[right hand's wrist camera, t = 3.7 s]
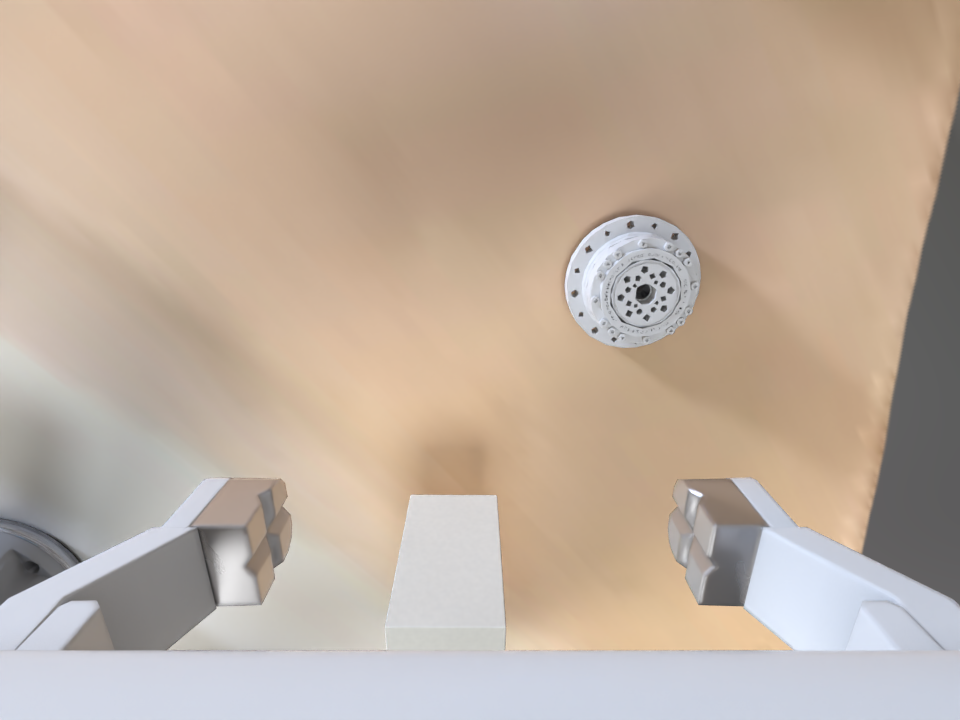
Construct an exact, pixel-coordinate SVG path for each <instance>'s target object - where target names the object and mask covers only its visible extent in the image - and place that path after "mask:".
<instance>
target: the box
mask: <svg viewBox="0 0 960 720" xmlns="http://www.w3.org/2000/svg"><path fill="white" fill-rule="evenodd" d="M385 636H386V650H464V651H505V644H506V617H505V603H504V588H503V573H502V559H501V544H500V529H499V515H498V500H497V495H411V496H410V501H409V506H408V511H407V516H406V521H405V527H404V532H403V537H402V542H401V547H400V552H399V557H398V562H397V567H396V572H395V578H394V583H393V588H392V593H391V598H390V603H389V608H388V613H387V618H386V624H385Z"/></svg>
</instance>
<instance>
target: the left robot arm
mask: <svg viewBox="0 0 960 720" xmlns="http://www.w3.org/2000/svg"><path fill="white" fill-rule="evenodd" d="M79 563H80V562H79V561H78V560H77V559H76V557H75V556H74V555H73V554H72V553H71V552H70V551H69V550H68V549H67V548H65V547H64V546H63V545H62V544H60V543H59V542H58V541H56V540H55V539H53V538H52V537H50V536H48V535H47V534H45V533H43V532H41V531H39V530H37V529H35V528H33V527H30V526H28V525H25V524H22V523H19V522H15V521H11V520H6V519H0V606H1V605H2V604H3V603H4V602H5V601H6V600H7V599H8V598H10V597H12V596H14V595H16V594H18V593H20V592H22V591H24V590H27V589H29V588H31V587H33V586H35V585H37V584H39V583H41V582H43V581H45V580H47V579H49V578H51V577H53V576H55V575H57V574H59V573H61V572H63V571H65V570H67V569H69V568H71V567H73V566H75V565H77V564H79Z"/></svg>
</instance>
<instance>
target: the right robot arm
mask: <svg viewBox="0 0 960 720" xmlns="http://www.w3.org/2000/svg"><path fill="white" fill-rule="evenodd" d="M287 497H288V496H287V491H286V486H285V483H284V482H283V481H282V480H281V479H265V478H208V479H204V480H203V481H202V482H201V483H200V485H199V486H198V487H197V488H196V489H195V490H194V491H193V492H192V493H191V495H190V496H189V497H188V498H187V499H186V500H185V501H184V502H183V503H182V505H181V506H180V507H179V508H178V509H177V510H176V511H175V512H174V513H173V515H172V516H171V517H170V518H169V519H168V520H167V521H166V522H165V523H164V525H163V526H162V527H153V528H151V529H149V530H147V531H145V532H142V533H140V534H138V535H136V536H134V537H132V538H130V539H128V540H126V541H124V542H122V543H120V544H118V545H116V546H114V547H112V548H110V549H108V550H106V551H104V552H102V553H100V554H98V555H96V556H94V557H92V558H90V559H88V560H86V561H83V562H81V563H79V564H77V565H75V566H73V567H71V568H69V569H67V570H65V571H63V572H61V573H59V574H57V575H55V576H53V577H51V578H49V579H47V580H45V581H43V582H41V583H39V584H37V585H35V586H33V587H31V588H29V589H27V590H24V591H22V592H20V593H18V594H16V595H14V596H12V597H10V598H8V599H7V600H6V601H5V602H4V603H3V604H2V605H1V606H0V720H960V605H959V604H958V603H956V602H955V601H954V600H953V599H951V598H949V597H947V596H945V595H943V594H941V593H939V592H937V591H935V590H933V589H931V588H929V587H927V586H925V585H923V584H921V583H919V582H917V581H915V580H913V579H911V578H909V577H907V576H905V575H903V574H901V573H899V572H897V571H895V570H893V569H891V568H889V567H886V566H884V565H882V564H880V563H878V562H876V561H874V560H872V559H870V558H868V557H866V556H864V555H862V554H860V553H858V552H856V551H854V550H852V549H850V548H848V547H846V546H844V545H842V544H840V543H838V542H836V541H834V540H832V539H830V538H828V537H826V536H824V535H822V534H820V533H817V532H815V531H813V530H811V529H809V528H807V527H798V526H797V525H796V523H795V522H794V521H793V520H792V519H791V518H790V517H789V516H788V515H787V513H786V512H785V511H784V510H783V509H782V508H781V507H780V506H779V505H778V503H777V502H776V501H775V500H774V499H773V498H772V497H771V496H770V495H769V493H768V492H767V491H766V490H765V489H764V488H763V487H762V486H761V484H760V483H759V482H758V481H757V480H755V479H753V478H751V477H748V478H726V479H680V480H677V481H676V484H675V486H674V490H673V496H672V497H673V498H674V500H675V502H676V504H677V505H678V507H677V508H676V509H675V510H674V511H673V512H672V513H671V514H670V515H669V523H668V535H669V543H670V547H671V550H672V553H673V555H674V557H675V559H676V561H677V562H678V563H680V564H681V565H682V566H684V567H685V568H687V569H686V575H685V579H686V581H687V583H688V585H689V587H690V589H691V591H692V593H693V595H694V597H695V599H696V601H697V603H698V605H716V606H744V609H745V610H746V611H747V612H749V613H750V614H751V615H752V616H753V617H755V618H756V619H757V620H758V621H759V622H761V623H762V624H763V625H764V626H765V627H767V628H768V629H769V630H770V631H771V632H773V633H774V634H775V635H776V636H777V637H779V638H780V639H781V640H782V641H783V642H785V643H786V644H787V645H788V646H789V647H791V648H792V649H793V650H516V651H515V650H513V651H464V650H167V649H168V648H170V647H171V646H172V645H173V644H174V643H176V642H177V641H178V640H179V639H180V638H182V637H183V636H184V635H185V634H186V633H188V632H189V631H190V630H191V629H192V628H194V627H195V626H196V625H197V624H198V623H200V622H201V621H202V620H203V619H205V618H206V617H207V616H208V615H209V614H211V613H212V612H213V611H214V610H215V609H216V606H243V605H262V603H263V601H264V599H265V597H266V595H267V593H268V591H269V589H270V587H271V585H272V583H273V581H274V579H275V575H274V569H273V568H275V567H276V566H278V565H279V564H281V563H282V562H283V561H284V559H285V557H286V555H287V553H288V551H289V547H290V542H291V538H292V522H291V515H290V514H289V513H288V512H287V511H286V510H285V509H284V508H283V507H282V505H283V504H284V502H285V500H286V498H287Z"/></svg>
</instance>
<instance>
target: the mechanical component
mask: <svg viewBox="0 0 960 720" xmlns="http://www.w3.org/2000/svg"><path fill="white" fill-rule="evenodd" d="M629 221H630V227H627V223H628V222H629ZM652 225H653V226H652ZM605 231H607V234H605ZM672 233H673V234H674V236H673V237H671V236H672ZM588 246H589V247H590V249H589V250H588V251H587V252H586V251H585V248H586V247H588ZM577 268H578V269H577ZM575 269H577V270H576V271H575ZM700 279H701V272H700V262H699V259H698V256H697V253H696V250H695V248H694V246H693V245H692V243H691V241H690V240H689V238H688V237H687V236H686V235H685V234H684V233H683V232H681V231H680V230H679V229H678V228H677V227H676V226H674V225H672V224H670V223H668V222H666V221H663V220H661V219H659V218H655V217H650V216H643V215H631V216H624V217H618V218H616V219H613V220H610V221H608V222H605V223H603V224H602V225H600V226H599V227H597V228H595V229H594V230H592V231H591V232H590V233H589V234H588V235H587V236H586V237H585V238H584V239H583V240H582V242H581V243H580V244H579V246H578V247H577V249H576V250H575V252H574V253H573V255H572V256H571V259H570V262H569V265H568V268H567V271H566V278H565V294H566V300H567V303H568V306H569V309H570V312H571V313H572V315H573V317H574V319H575V321H576V322H577V323H578V324H579V325H580V327H581V328H582V329H583V330H584V331H585V332H586V333H587V334H588V335H589V336H591V337H592V338H594V339H596V340H598V341H600V342H602V343H604V344H606V345H610V346H615V347H621V348H630V347H639V346H644V345H648V344H651V343H653V342H656V341H658V340H660V339H662V338H664V337H665V336H667V335H668V334H669V335H670V334H673V333H674V332H675V330H676V329H677V328H678V327H679V326H682V325H684V323H685V319H686V318H687V316H688V315H690V314H692V312H693V310H692V308H693V306H694V303H695V300H696V298H697V296H698V293H699V287H700ZM574 290H575V293H573V294H571V292H572V291H574ZM579 312H580V313H579ZM592 328H595V329H592ZM591 329H592V330H591Z"/></svg>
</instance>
